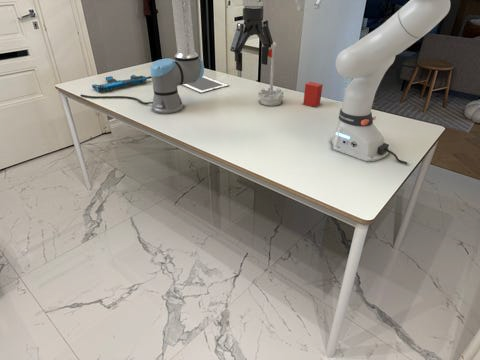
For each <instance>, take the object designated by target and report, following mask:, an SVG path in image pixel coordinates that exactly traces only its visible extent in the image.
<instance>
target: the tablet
mask: <svg viewBox="0 0 480 360" xmlns="http://www.w3.org/2000/svg"><path fill="white" fill-rule="evenodd" d="M182 86H183V87H186V88H188V89H190V90H193V91H195V92H198V93H200V94H203V93H206V92H211V91H215V90H217V89H222V88H225V87H229V84H226V83H224V82H221V81H219V80H216V79H214V78H210V77H207V76H206V75H203V77H202V78H201V79H200V80H199V81H196V82H193V83H187V84H183V85H182Z"/></svg>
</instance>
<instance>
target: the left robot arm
mask: <svg viewBox="0 0 480 360" xmlns="http://www.w3.org/2000/svg"><path fill="white" fill-rule="evenodd" d="M264 3H265V0H242V6H243V8H242V19H243V23H240V22H238V23H237V24H236V30H235V33H234V37H233V40H232V42H231V44H230V45H231V46H230V48H229V49H230V52H233V53H234V62H235V70H236V71H238V72H242V71H243V53H242V51H243V49H244V47H245V45H246V44H247V41H248V39H249V38H251V36H255V35H256V36H257V38H258V39H259V41H260V42H261V44H262V45H263V46H262V47H261V63H260V64H261V65H265V66H268V59H269V58H268V57H269V56H268V54H269V50H270V48H271V45H273V42H274V41H273V37H272V34H271V31H270V27H269V20H268V19H264V8H263V7H264ZM171 5H172V14H173V15H172V16H173V25H174V33H175V34H174V35H175V42H176V50H177V51H176V53H175V55H174V59H173V58H162V59H157V60H155V61H154V62H152V63H151V64H150V76H151V77H152V78H151V82H152V83H151V84H152V88H153V98H152V101H147V102H145V101H142V100H140V99H139V98H137V97H134V96H125V95H102V96H101V95H99V96H96V95H87V94H80V97H84V98H90V99H131V100H135V101H137V102H139V103H140V104H142V105H151V107H152V108H151V109H152V111H153V112H155V113H157V114H161V115H170V114H174V113H175V114H176V113H178V112H180V111H182V110H183V109H184V104H183V101H182V99H181V97H180V94H179V91H178V86H183V84H187V83H193V82H196V81H199V80H200V79H201V78H202V77H203V76H204V75H205V74H204V73H205V65H204V63H203V60H202V58H200V57H199V54H198V53H197V52H196V47H195V35H194V23H193V22H194V21H193V10H192V9H193V8H192V0H171Z"/></svg>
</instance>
